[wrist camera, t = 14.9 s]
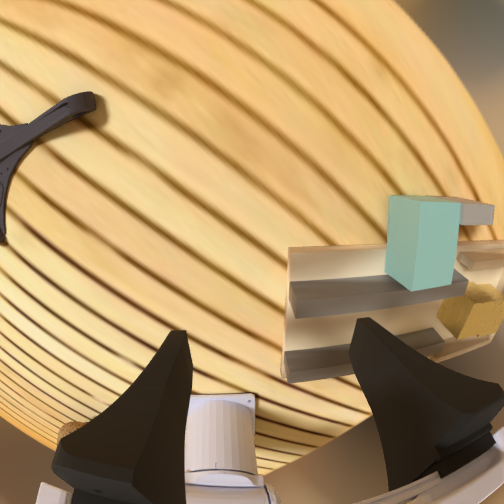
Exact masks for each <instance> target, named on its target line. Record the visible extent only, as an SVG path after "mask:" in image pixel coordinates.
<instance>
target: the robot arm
mask: <svg viewBox="0 0 504 504" xmlns="http://www.w3.org/2000/svg"><path fill="white" fill-rule="evenodd" d="M348 354H349V357H350V361H351V364H352V367H353V370H354V373H355V375H356V377H357V380H358V382H359V384H360V386H361V388H362V390H363V393H364V395H365V397H366V399H367V401H368V404H369V406H370V408H371V410H372V413H373V415H374V418H375V422H376V425H377V428H378V432H379V435H380V439H381V443H382V448H383V452H384V457H385V462H386V469H387V476H388V486H389V492H388V493H385V494H382V495H379V496H377V497H373V498H370V499H367V500H364V501H361V502H357V503H354V504H402V503H405V502H407V501H409V500H411V499H412V500H411V501H410V502H408V503H406V504H479V503H480V502H482V501H483V500H484V499H485V498H487V497H488V496H489V495H490V494H491V493H493V492H494V491H495V490H496V489H497V488H499V487H500V486H501V485H502V484H503V483H504V426H503V427H502V428H500V429H499V430H498V431H496V432H495V433H494V434H493V435H491V433H490V431H491V430H492V425H491V424H490V422H491V420H493V418H494V417H495V416H496V415H497V414H498V412H499V411H500V410H501V409H502V407H503V406H504V391H503V389H502V388H501V387H500V385H499V384H497V383H492V382H487V381H483V380H478V379H475V378H472V377H469V376H465V375H463V374H460V373H458V372H455V371H453V370H450V369H448V368H446V367H444V366H442V365H440V364H438V363H436V362H434V361H432V360H430V359H429V358H427V357H425V356H424V355H422V354H420V353H419V352H417V351H416V350H414V349H413V348H411V347H410V346H408V345H407V344H405V343H404V342H403V341H401V340H400V339H398V338H397V337H396V336H394V335H393V334H392V333H390V332H389V331H388V330H386V329H385V328H384V327H382V326H381V325H380V324H378V323H377V322H376V321H374V320H373V319H371V318H370V317H365V318H358V319H357V320H356V324H355V328H354V332H353V336H352V340H351V344H350V348H349V351H348ZM192 376H193V363H192V358H191V354H190V349H189V344H188V338H187V333H186V330H182V331H171V332H170V333H169V334H168V336H167V337H166V339H165V340H164V342H163V344H162V345H161V347H160V348H159V350H158V351H157V353H156V354H155V355H154V357H153V358H152V360H151V361H150V362H149V364H148V365H147V367H146V368H145V369H144V370H143V372H142V373H141V374H140V375H139V376H138V378H137V379H136V380H135V381H134V382H133V384H132V385H131V386H130V387H129V388H128V389H127V390H126V391H125V392H124V393H123V394H122V395H121V396H120V397H119V398H118V399H117V400H116V401H115V402H114V403H113V404H112V405H110V406H109V407H108V408H107V409H106V410H105V411H103V412H102V413H101V414H99V415H98V416H97V417H95V418H94V419H93V420H91V421H90V422H88V423H87V424H85V425H84V426H82V427H81V428H79V429H77V430H75V431H74V432H72V433H70V434H68V435H66V436H64V437H62V438H61V439H60V441H59V444H58V446H57V449H56V453H55V456H54V459H53V462H52V466H51V468H52V470H53V472H54V473H55V474H56V475H57V476H58V477H60V478H61V479H62V480H64V481H65V482H66V483H68V484H69V485H70V486H72V487H73V488H74V493H73V494H71V493H69V492H67V491H65V490H62V489H59V488H57V487H54V486H52V485H49V484H47V483H44V482H42V483H41V485H40V489H39V493H38V497H37V501H36V504H281V500H280V497H279V494H278V492H277V491H276V490H275V489H274V488H273V487H272V486H271V485H270V484H264V481H263V476H258V472H257V463H256V454H255V444H254V436H255V395H254V394H252V393H247V394H224V395H191V390H192ZM185 430H186V436H185Z"/></svg>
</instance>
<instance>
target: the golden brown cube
mask: <svg viewBox="0 0 504 504" xmlns="http://www.w3.org/2000/svg"><path fill="white" fill-rule="evenodd" d="M495 302H496V301H495V300H494V299H493V298H492V297H491V296H489V295H488V294H487V293H486V292H485V291H484V290H483V289H481V288H480V287H479V286H478V285H477V284H475V283H474V282H473V281H469V283H468V286H467V289H466V291H465V294H464V295H463V296H458V297H453V298H447V299H443V301H442V303H441V306H440V308H439V310H438V313H437V315H436V317H437V318H438V319H439V320H440V321H441V322H442V323H443V325H444V326H445V327H446V328H447V329H448V330H449V331H450V333H451V334H452V335H453V336H454V337H455V338H456V340H458V339H462V338H467V337H471V336H475V335H479V334H480V332H481V330H482V328H483V327H484V325H485V323H486V321H487V319H488V317H489V315H490V313H491V310H492V308H493V306H494V304H495Z"/></svg>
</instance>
